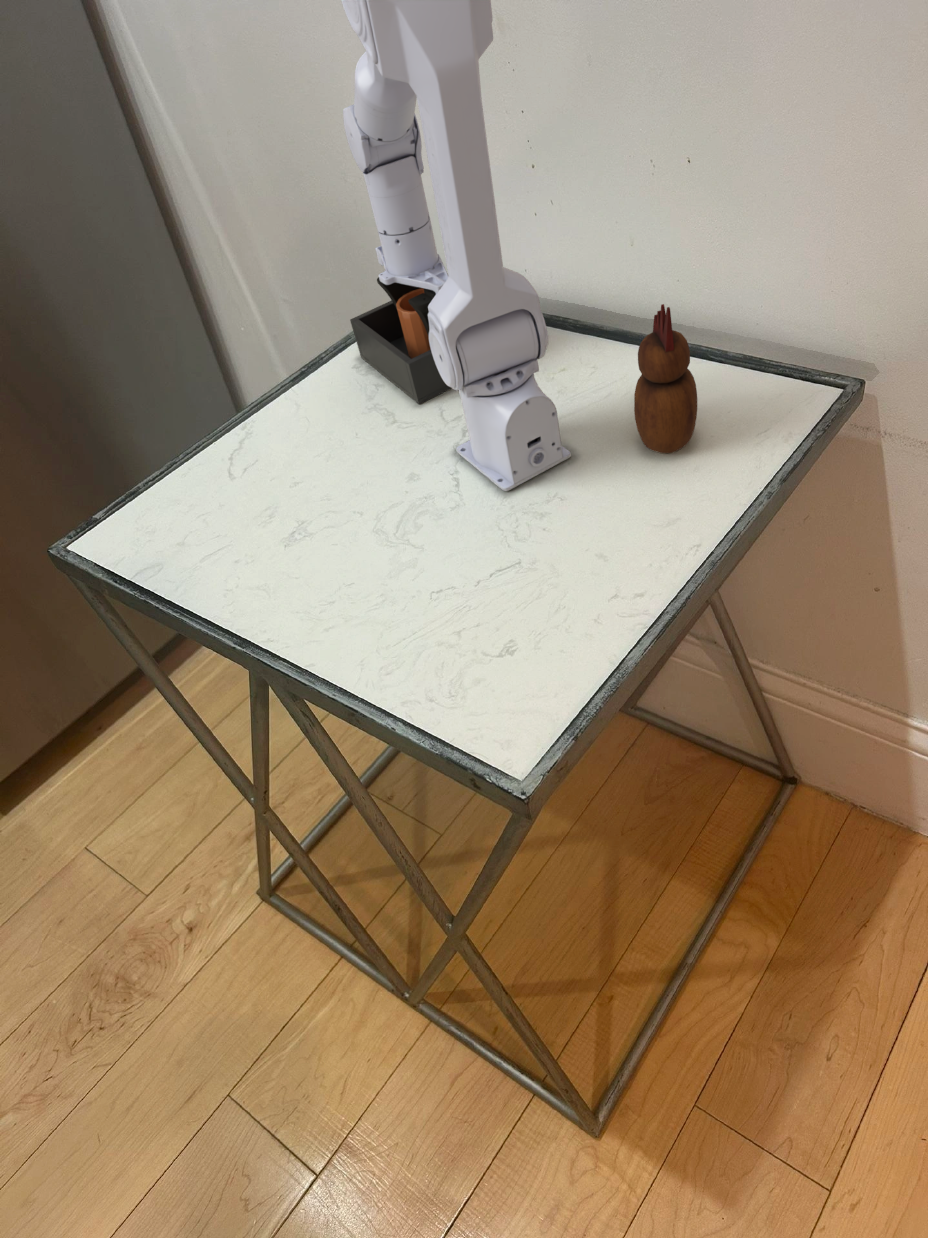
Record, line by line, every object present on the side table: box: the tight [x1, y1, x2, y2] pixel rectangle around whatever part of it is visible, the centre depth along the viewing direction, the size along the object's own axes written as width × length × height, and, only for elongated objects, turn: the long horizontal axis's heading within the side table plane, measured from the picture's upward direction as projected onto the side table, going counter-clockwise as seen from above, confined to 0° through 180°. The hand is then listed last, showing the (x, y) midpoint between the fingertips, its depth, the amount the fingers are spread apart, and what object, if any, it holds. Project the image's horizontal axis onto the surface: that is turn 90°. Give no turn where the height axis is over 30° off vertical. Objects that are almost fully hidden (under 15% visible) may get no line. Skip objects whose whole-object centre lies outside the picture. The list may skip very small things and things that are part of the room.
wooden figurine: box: [633, 303, 698, 454], centre depth 86 cm, size 7×6×15 cm
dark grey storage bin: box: [349, 299, 452, 405], centre depth 109 cm, size 15×13×5 cm
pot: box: [396, 288, 431, 359], centre depth 108 cm, size 6×6×6 cm
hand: (430, 338), depth 109 cm, fingers closed on pot, 5 cm apart
